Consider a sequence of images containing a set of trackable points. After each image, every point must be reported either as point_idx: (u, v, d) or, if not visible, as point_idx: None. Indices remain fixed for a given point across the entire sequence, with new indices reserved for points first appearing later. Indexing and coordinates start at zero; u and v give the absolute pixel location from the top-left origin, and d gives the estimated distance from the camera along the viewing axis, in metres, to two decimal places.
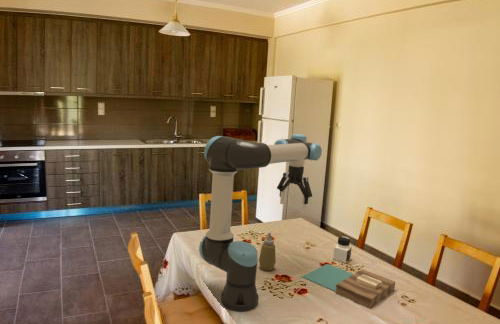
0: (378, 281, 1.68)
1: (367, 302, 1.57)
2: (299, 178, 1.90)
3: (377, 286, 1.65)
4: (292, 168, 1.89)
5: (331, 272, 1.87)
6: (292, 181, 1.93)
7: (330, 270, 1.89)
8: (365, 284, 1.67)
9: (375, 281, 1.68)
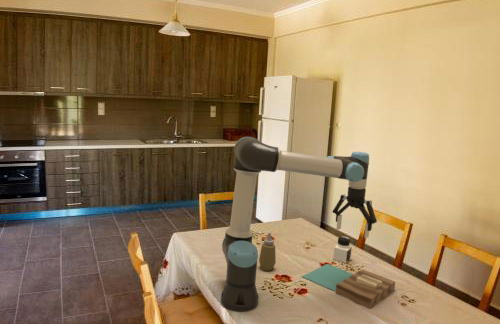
0: (378, 281, 1.68)
1: (367, 302, 1.57)
2: (361, 202, 1.68)
3: (377, 286, 1.65)
4: (353, 191, 1.67)
5: (331, 272, 1.87)
6: (352, 205, 1.71)
7: (330, 270, 1.89)
8: (365, 284, 1.67)
9: (375, 281, 1.68)
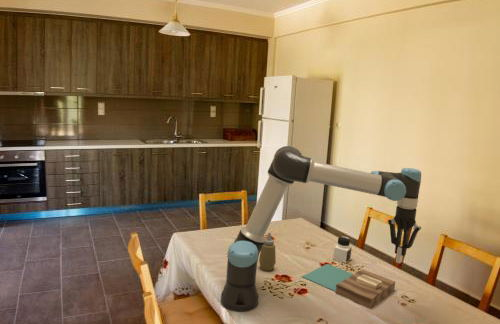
0: (378, 281, 1.68)
1: (367, 302, 1.57)
2: (411, 223, 1.54)
3: (377, 286, 1.65)
4: (403, 211, 1.53)
5: (331, 272, 1.87)
6: (401, 226, 1.57)
7: (330, 270, 1.89)
8: (365, 284, 1.67)
9: (375, 281, 1.68)
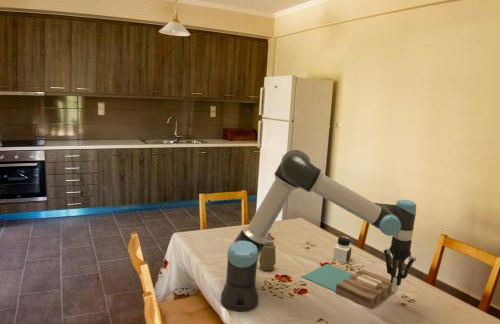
0: (378, 281, 1.68)
1: (367, 302, 1.57)
2: (406, 254, 1.56)
3: (377, 286, 1.65)
4: (399, 242, 1.55)
5: (331, 272, 1.87)
6: (396, 256, 1.59)
7: (330, 270, 1.89)
8: (365, 284, 1.67)
9: (375, 281, 1.68)
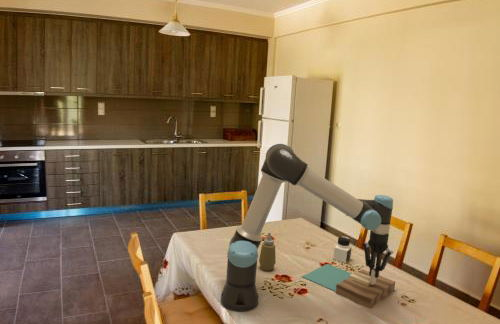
0: None
1: (367, 302, 1.57)
2: (384, 247, 1.62)
3: None
4: (376, 236, 1.61)
5: (331, 272, 1.87)
6: (374, 249, 1.65)
7: (330, 270, 1.89)
8: (358, 281, 1.70)
9: (368, 278, 1.70)
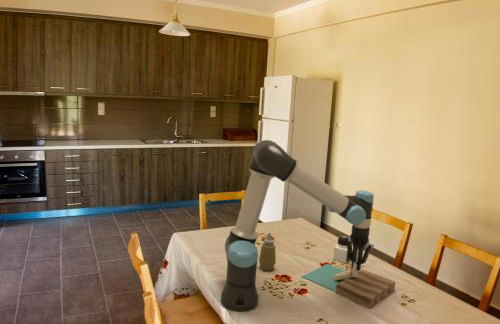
0: (352, 270, 1.76)
1: (367, 302, 1.57)
2: (365, 241, 1.68)
3: (351, 274, 1.74)
4: (357, 230, 1.67)
5: (331, 272, 1.87)
6: (356, 243, 1.71)
7: (330, 270, 1.89)
8: (341, 277, 1.75)
9: (349, 271, 1.76)
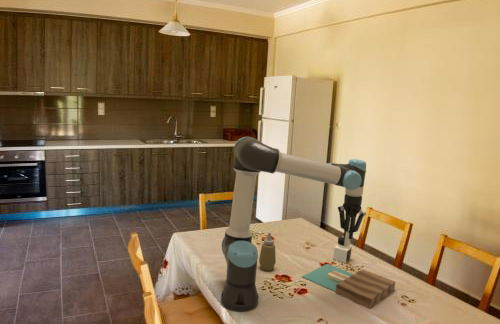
0: (348, 277, 1.78)
1: (367, 302, 1.57)
2: (357, 209, 1.69)
3: None
4: (350, 198, 1.68)
5: None
6: (348, 212, 1.72)
7: (330, 270, 1.89)
8: (335, 280, 1.77)
9: (345, 277, 1.78)
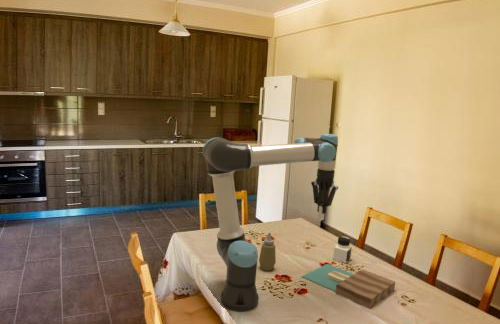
0: (348, 277, 1.78)
1: (367, 302, 1.57)
2: (329, 183, 1.70)
3: None
4: (322, 172, 1.69)
5: None
6: (321, 186, 1.73)
7: (330, 270, 1.89)
8: (335, 280, 1.77)
9: (345, 277, 1.78)
